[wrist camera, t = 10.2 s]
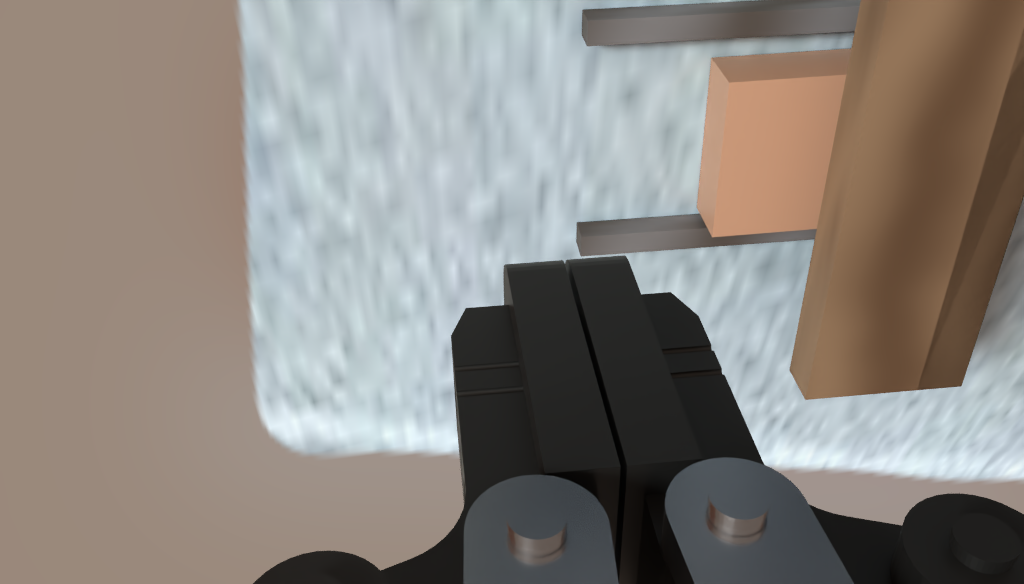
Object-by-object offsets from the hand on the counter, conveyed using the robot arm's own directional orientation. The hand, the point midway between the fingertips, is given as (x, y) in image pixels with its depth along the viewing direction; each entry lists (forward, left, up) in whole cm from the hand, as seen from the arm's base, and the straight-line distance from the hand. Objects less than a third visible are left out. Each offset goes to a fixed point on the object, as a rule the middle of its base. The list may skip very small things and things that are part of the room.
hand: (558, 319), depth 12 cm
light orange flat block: (-14, +11, -27) cm, 33 cm away
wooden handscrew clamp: (-14, +11, -27) cm, 32 cm away
